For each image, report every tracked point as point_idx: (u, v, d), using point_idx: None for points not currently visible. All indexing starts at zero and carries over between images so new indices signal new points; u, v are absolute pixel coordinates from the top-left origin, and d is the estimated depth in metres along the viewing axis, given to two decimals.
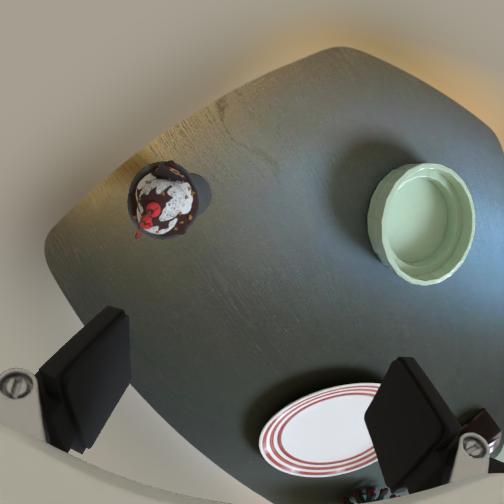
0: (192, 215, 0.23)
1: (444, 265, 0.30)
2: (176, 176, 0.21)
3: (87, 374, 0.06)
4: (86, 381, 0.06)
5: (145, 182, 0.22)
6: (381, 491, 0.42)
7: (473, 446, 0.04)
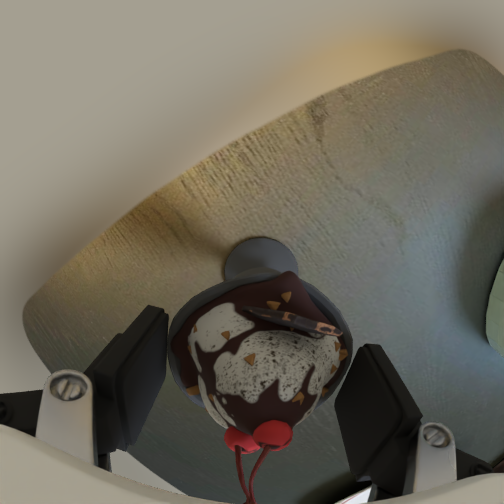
0: (327, 386, 0.10)
1: None
2: (321, 334, 0.08)
3: (137, 371, 0.06)
4: (136, 378, 0.06)
5: (223, 337, 0.08)
6: None
7: (435, 435, 0.05)
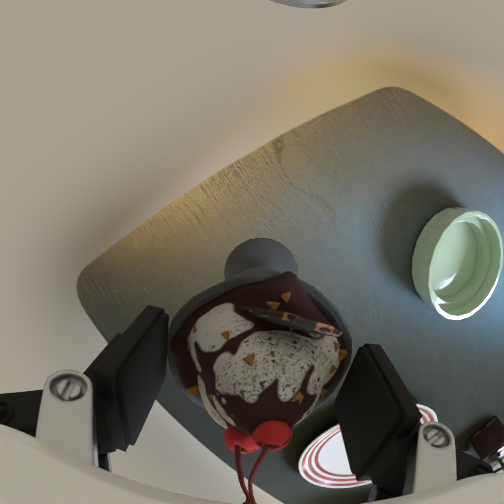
0: (327, 385, 0.10)
1: (473, 299, 0.30)
2: (321, 334, 0.08)
3: (138, 371, 0.06)
4: (136, 378, 0.06)
5: (222, 337, 0.08)
6: None
7: (435, 435, 0.05)
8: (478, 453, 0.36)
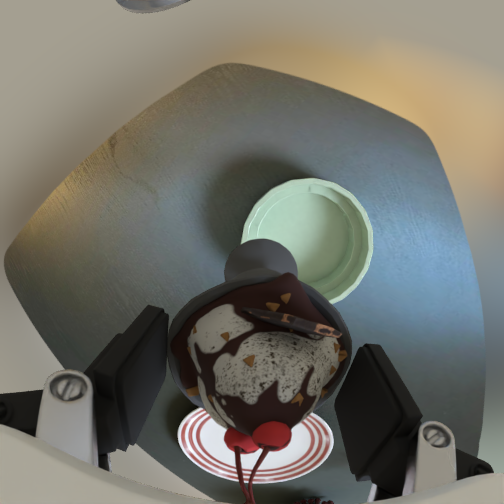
0: (327, 386, 0.10)
1: (337, 287, 0.32)
2: (321, 335, 0.08)
3: (138, 371, 0.06)
4: (136, 378, 0.06)
5: (222, 338, 0.08)
6: (322, 503, 0.44)
7: (435, 435, 0.05)
8: None
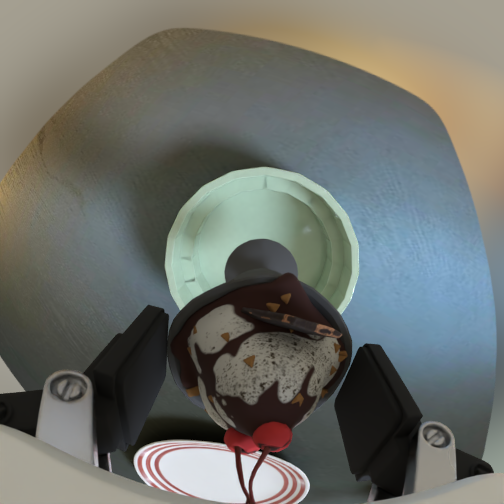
0: (327, 387, 0.10)
1: None
2: (321, 336, 0.08)
3: (138, 371, 0.06)
4: (136, 378, 0.06)
5: (222, 338, 0.08)
6: None
7: (435, 435, 0.05)
8: None
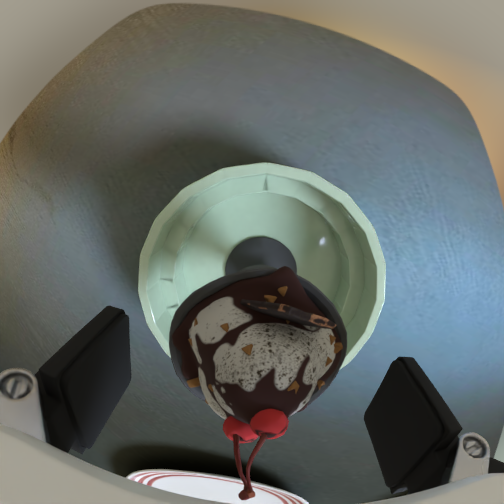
0: (324, 379, 0.10)
1: None
2: (316, 326, 0.08)
3: (87, 374, 0.06)
4: (86, 381, 0.06)
5: (222, 329, 0.09)
6: None
7: (473, 446, 0.04)
8: None
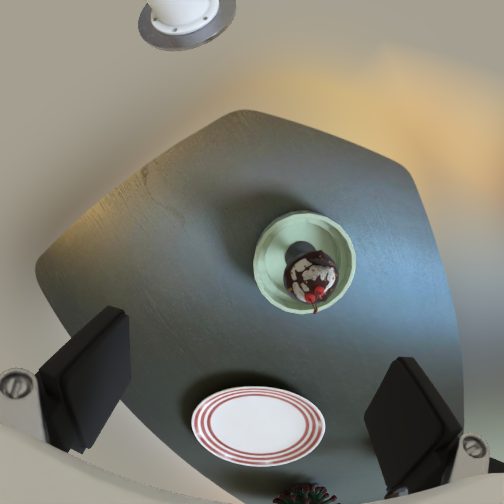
0: (332, 288, 0.33)
1: None
2: (329, 265, 0.31)
3: (87, 374, 0.06)
4: (86, 381, 0.06)
5: (304, 267, 0.31)
6: (316, 488, 0.52)
7: (473, 446, 0.04)
8: None
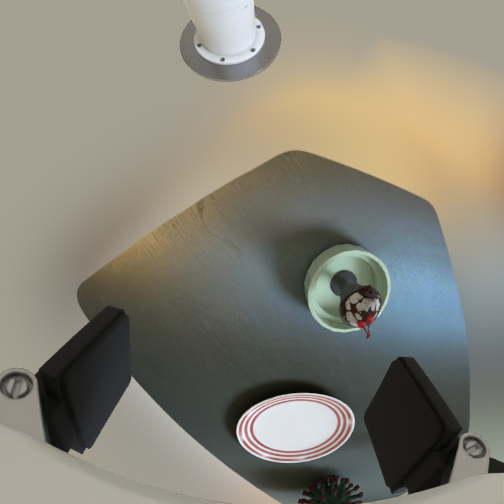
0: (375, 314, 0.38)
1: None
2: (377, 298, 0.36)
3: (87, 374, 0.06)
4: (86, 381, 0.06)
5: (357, 299, 0.36)
6: (341, 480, 0.58)
7: (473, 446, 0.04)
8: None
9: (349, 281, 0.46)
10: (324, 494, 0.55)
